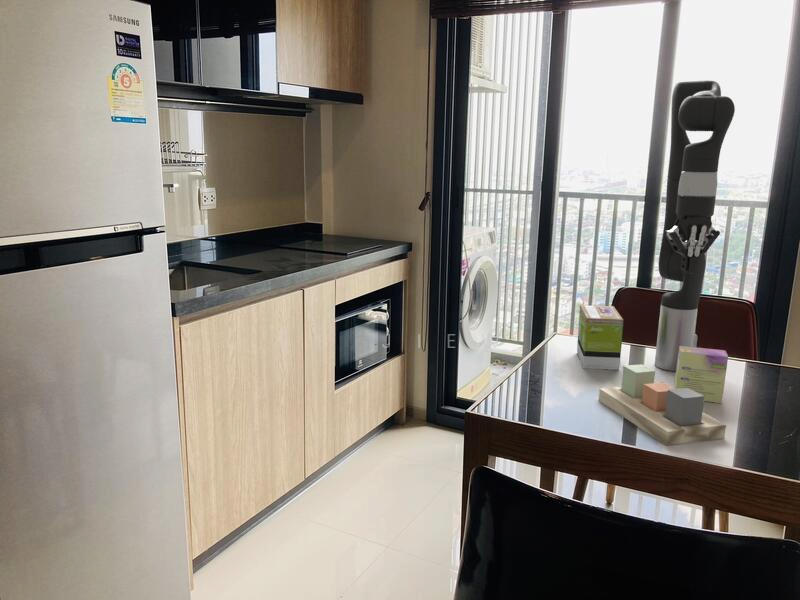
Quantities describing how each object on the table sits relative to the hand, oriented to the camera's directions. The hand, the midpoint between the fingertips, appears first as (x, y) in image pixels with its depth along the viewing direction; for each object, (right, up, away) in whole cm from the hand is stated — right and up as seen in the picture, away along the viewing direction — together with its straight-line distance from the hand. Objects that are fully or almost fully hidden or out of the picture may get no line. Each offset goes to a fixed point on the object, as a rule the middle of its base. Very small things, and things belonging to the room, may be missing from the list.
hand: (687, 272), depth 144 cm
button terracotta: (-6, -32, +1) cm, 32 cm away
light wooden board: (-6, -32, +2) cm, 33 cm away
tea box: (-8, -24, +41) cm, 48 cm away
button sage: (-8, -28, +9) cm, 31 cm away
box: (+9, -30, +15) cm, 34 cm away
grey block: (-4, -32, -6) cm, 33 cm away
